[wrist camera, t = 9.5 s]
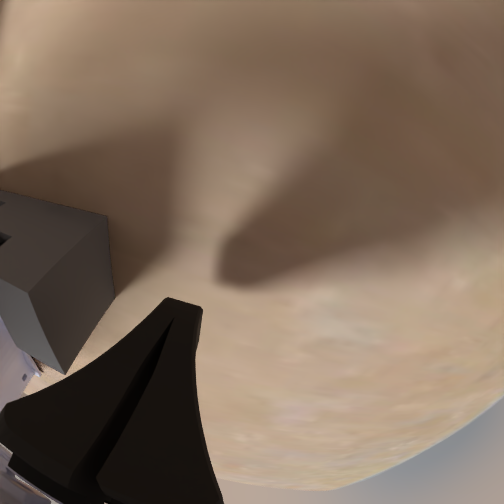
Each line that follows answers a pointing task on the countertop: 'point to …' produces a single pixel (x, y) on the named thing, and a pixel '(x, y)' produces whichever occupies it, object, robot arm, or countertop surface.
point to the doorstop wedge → (52, 276)
